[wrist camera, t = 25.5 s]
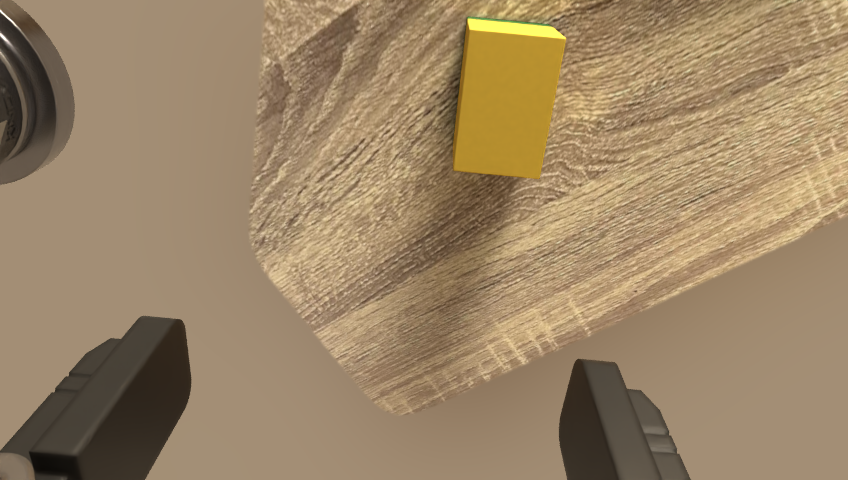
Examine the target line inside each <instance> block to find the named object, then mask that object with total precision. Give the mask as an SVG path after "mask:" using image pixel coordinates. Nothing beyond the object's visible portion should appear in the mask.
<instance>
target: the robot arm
mask: <svg viewBox="0 0 848 480" xmlns="http://www.w3.org/2000/svg"><path fill="white" fill-rule="evenodd" d="M34 120H35V109H34V100H33V95H32V91H31V88H30V85H29V82H28V80H27V78H26V75H25V73H24V71H23V69H22V68H21V66H20V64H19V62H18V61H17V59H16V58H15V56H14V55H13V54H12V52H11V51H10V50H9V48H8V47H7V46H6V45H5V44H4V43H3V42H2V40H1V39H0V164H2V163H4V162H6V161H8V160H10V159H11V158H13V157H14V156H16V155H17V154H18V153H19V152H20V151H21V150H22V149H23V148H24V147H25V145H26V144H27V142H28V140H29V138H30V136H31V134H32V130H33V126H34ZM190 390H191V372H190V364H189V356H188V347H187V339H186V331H185V325H184V323H183V321H182V320H180V319H170V318H160V317H150V316H142V317H140V318H139V319H138V320H137V321H136V322H135V323H134V324H133V326H132V327H131V328H130V329H129V330H128V332H127V333H126V334H125V335H124V336H123V338H122V339H114V338H111V339H109V340H107V341H106V342H104V343H102V344H101V345H99V346H98V347H96V348H94V349H93V350H91V351H89V352H88V353H86V354H85V355H84V357H83V358H82V359H81V360H80V361H79V362H78V363H77V364H76V366H75V367H74V368H73V369H72V370H71V371H70V372H69V376H68V377H65V378H64V379H63V380H62V382H61V383H60V384H59V385H58V386H57V387H56V388H55V392H54V393H51V394H50V395H49V396H48V397H47V398H46V400H45V401H44V402H43V403H42V404H41V405H40V406H39V407H38V409H37V410H36V411H35V412H34V413H33V414H32V416H31V417H30V418H29V419H28V420H27V421H26V422H25V423H24V424H23V426H22V427H21V428H20V429H19V430H18V431H17V432H16V434H15V435H14V436H13V437H12V438H11V439H10V441H9V442H8V443H7V444H6V445H5V446H4V447H3V448H2V450H1V451H0V480H145V479H146V477H147V475H148V473H149V471H150V470H151V468H152V466H153V464H154V463H155V461H156V459H157V457H158V456H159V454H160V452H161V450H162V448H163V447H164V445H165V443H166V441H167V440H168V437H169V436H170V434H171V433H172V431H173V429H174V427H175V426H176V424H177V422H178V420H179V419H180V417H181V415H182V413H183V411H184V410H185V408H186V405H187V402H188V399H189V395H190ZM559 441H560V448H561V453H562V457H563V462H564V466H565V471H566V475H567V480H691V479H690V477H689V475H688V473H687V470H686V468H685V466H684V464H683V462H682V459H681V457H680V455H679V454H677V448H676V446H675V443H674V442H673V439H672V437H671V436H669V430H668V428H667V426H666V423H665V421H664V419H663V417H662V414H661V412H660V410H659V409H658V408H657V407H656V406H655V405H654V404H653V403H652V402H651V400H650V399H649V398H648V397H647V396H646V395H645V394H644V393H643V392H642V391H641V390H631V389H627V388H626V385H625V383H624V380H623V378H622V375H621V373H620V370H619V368H618V366H617V364H616V363H615V362H606V361H596V360H586V359H577V360H576V361H575V363H574V366H573V369H572V373H571V377H570V381H569V385H568V389H567V393H566V397H565V400H564V404H563V408H562V412H561V416H560V423H559Z"/></svg>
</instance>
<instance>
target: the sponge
mask: <svg viewBox="0 0 848 480" xmlns="http://www.w3.org/2000/svg"><path fill="white" fill-rule="evenodd" d="M565 42H566V38H565V37H564V36H562V35H561V34H560V33H559V32H558V31H557V30H555V29H554V28H553V27H552V26H550V25H549V24H539V23H529V22H519V21H508V20H498V19H488V18H477V17H467V20H466V29H465V37H464V46H463V55H462V64H461V73H460V82H459V91H458V99H457V108H456V117H455V126H454V135H453V171H459V172H470V173H480V174H491V175H501V176H511V177H522V178H532V179H539V178H540V174H541V169H542V163H543V158H544V153H545V148H546V142H547V137H548V132H549V126H550V121H551V116H552V111H553V105H554V100H555V95H556V90H557V84H558V79H559V74H560V68H561V63H562V58H563V53H564V47H565Z"/></svg>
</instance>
